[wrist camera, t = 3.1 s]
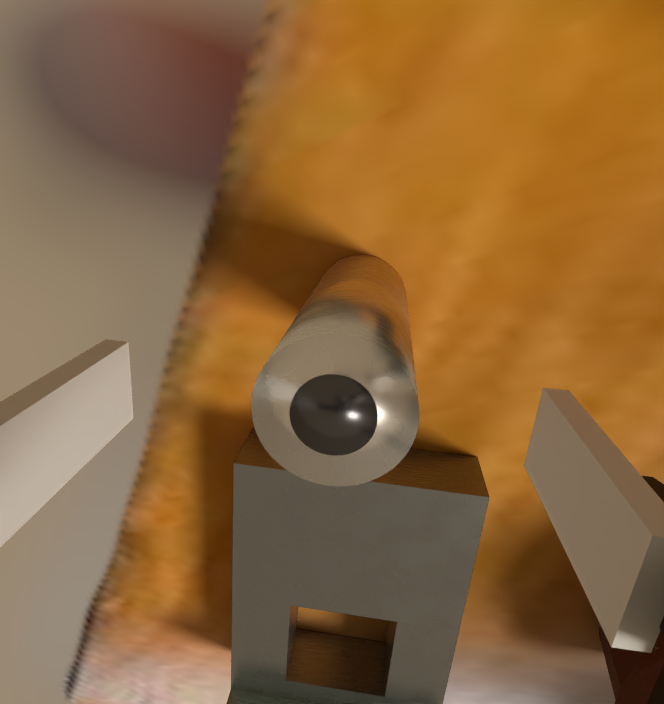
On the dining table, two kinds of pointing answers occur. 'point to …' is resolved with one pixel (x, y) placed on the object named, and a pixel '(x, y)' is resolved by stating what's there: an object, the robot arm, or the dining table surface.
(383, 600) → the jig
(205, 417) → the dining table surface
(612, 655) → the muffin
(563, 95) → the dining table surface
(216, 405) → the dining table surface
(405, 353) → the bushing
